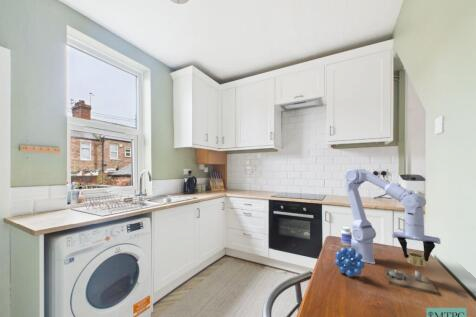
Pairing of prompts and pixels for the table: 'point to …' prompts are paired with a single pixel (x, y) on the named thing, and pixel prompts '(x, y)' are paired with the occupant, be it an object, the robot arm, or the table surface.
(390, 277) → the gear board
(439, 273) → the table surface
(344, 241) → the pill bottle
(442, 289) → the table surface
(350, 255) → the grapes
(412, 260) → the gear
